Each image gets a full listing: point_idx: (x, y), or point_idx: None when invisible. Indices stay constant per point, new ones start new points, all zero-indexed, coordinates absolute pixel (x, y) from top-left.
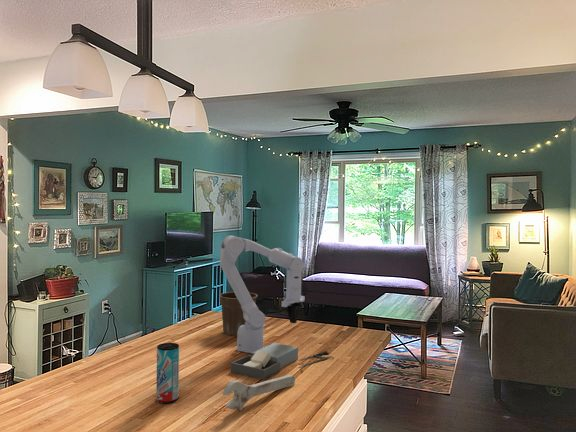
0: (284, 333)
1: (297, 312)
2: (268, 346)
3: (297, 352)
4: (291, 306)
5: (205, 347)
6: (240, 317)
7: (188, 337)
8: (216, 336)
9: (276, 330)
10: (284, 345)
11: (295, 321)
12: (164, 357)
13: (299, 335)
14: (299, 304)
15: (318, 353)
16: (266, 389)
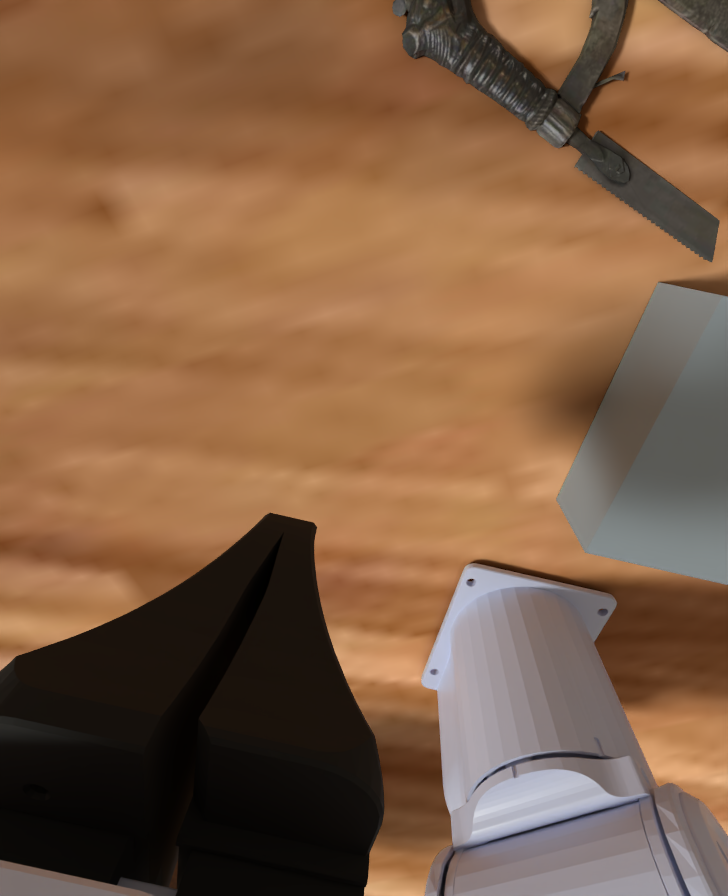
0: (48, 558)
1: (232, 612)
2: (717, 566)
3: (697, 291)
4: (366, 864)
5: None
6: None
7: (393, 888)
8: None
9: (22, 617)
10: (665, 450)
11: (294, 528)
12: None
13: (17, 452)
14: (78, 770)
15: (517, 87)
16: None
